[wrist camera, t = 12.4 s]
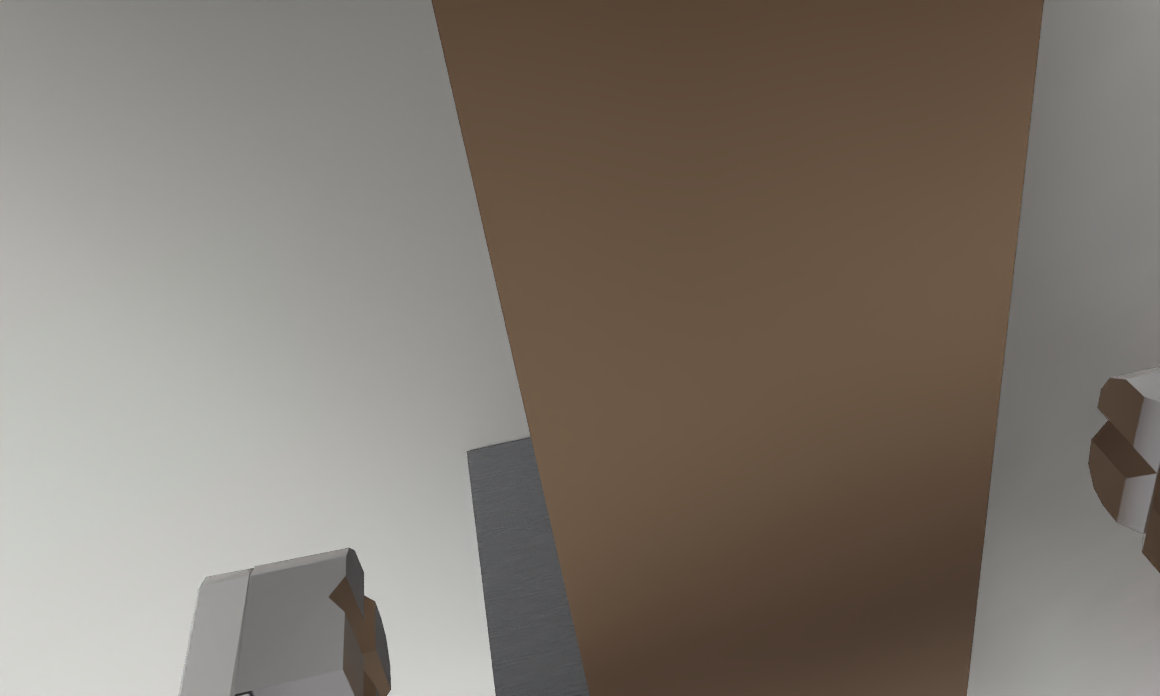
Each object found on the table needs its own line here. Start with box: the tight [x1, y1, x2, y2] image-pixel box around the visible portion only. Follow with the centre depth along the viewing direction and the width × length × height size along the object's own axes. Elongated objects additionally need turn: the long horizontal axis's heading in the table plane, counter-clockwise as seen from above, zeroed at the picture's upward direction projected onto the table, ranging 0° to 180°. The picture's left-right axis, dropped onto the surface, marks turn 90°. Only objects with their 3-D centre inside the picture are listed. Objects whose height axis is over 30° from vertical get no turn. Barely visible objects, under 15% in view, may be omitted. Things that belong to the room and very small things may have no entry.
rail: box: [432, 0, 1044, 696], centre depth 12 cm, size 26×4×5 cm, turn 8°
